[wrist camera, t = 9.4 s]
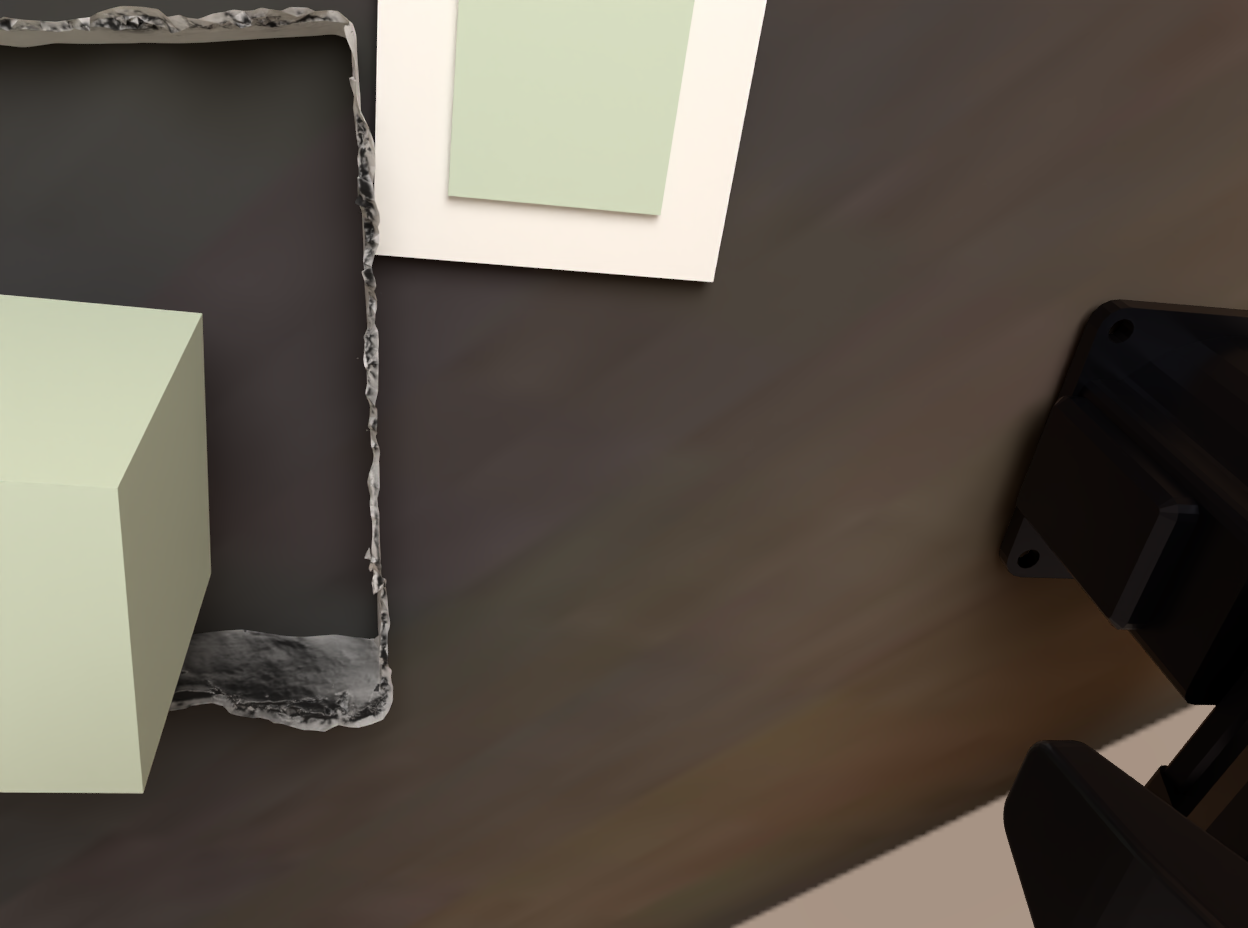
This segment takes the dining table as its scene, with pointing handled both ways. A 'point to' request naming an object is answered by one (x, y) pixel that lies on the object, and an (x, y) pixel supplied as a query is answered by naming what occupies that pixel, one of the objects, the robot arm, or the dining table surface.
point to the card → (561, 131)
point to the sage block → (97, 536)
